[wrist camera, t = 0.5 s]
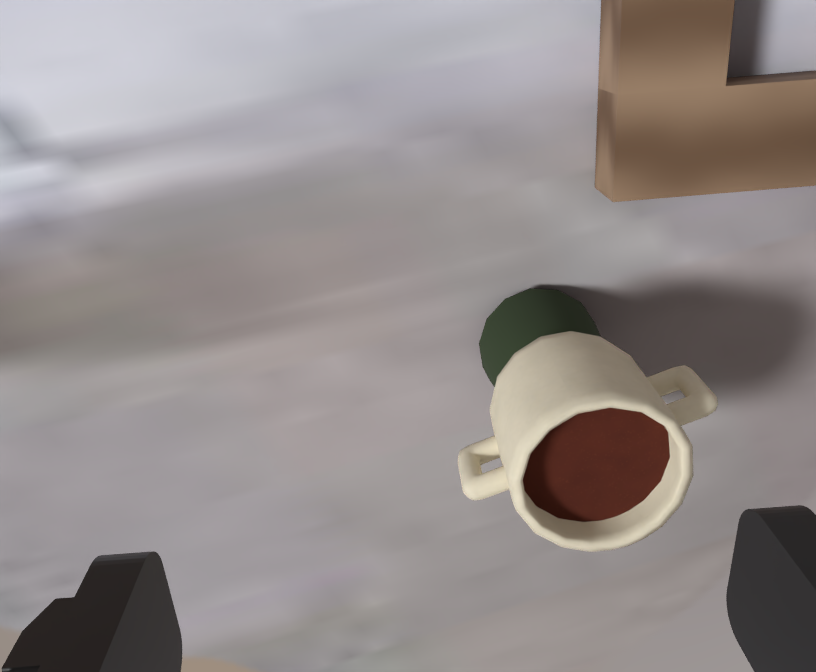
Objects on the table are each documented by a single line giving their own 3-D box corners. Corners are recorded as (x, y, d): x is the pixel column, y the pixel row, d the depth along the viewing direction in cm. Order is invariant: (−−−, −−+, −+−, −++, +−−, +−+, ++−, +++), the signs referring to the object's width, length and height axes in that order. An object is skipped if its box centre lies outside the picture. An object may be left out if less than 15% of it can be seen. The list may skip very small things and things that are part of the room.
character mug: (465, 425, 41) (500, 592, 29) (416, 320, 38) (434, 458, 27) (648, 354, 40) (763, 500, 28) (611, 240, 37) (722, 348, 25)
